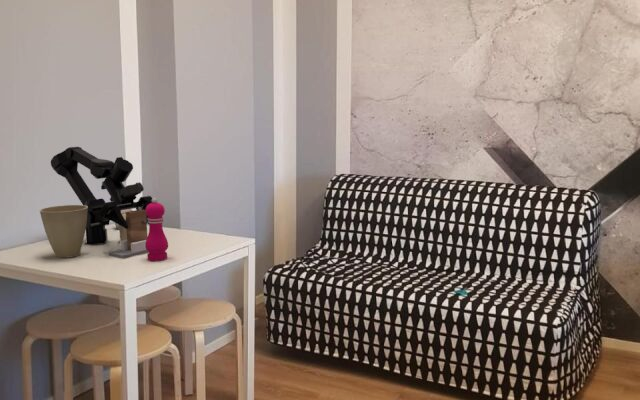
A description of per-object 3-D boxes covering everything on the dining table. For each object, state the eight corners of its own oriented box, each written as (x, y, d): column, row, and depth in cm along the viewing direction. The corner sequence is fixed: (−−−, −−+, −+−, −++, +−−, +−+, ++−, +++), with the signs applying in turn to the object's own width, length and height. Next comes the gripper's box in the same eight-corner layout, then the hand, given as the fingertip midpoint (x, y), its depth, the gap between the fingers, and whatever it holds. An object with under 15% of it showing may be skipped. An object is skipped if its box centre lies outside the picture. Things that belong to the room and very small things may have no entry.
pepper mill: (157, 262, 217) (154, 200, 214) (141, 259, 221) (137, 198, 218) (173, 257, 223) (170, 197, 220) (157, 255, 227) (154, 195, 224)
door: (127, 250, 230) (125, 212, 228) (143, 246, 236) (141, 209, 234) (134, 251, 228) (132, 213, 226) (149, 247, 233) (147, 210, 231)
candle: (139, 240, 251) (137, 213, 249) (129, 243, 246) (127, 215, 244) (127, 239, 253) (125, 212, 251) (117, 242, 248) (115, 214, 246)
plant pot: (93, 249, 237) (90, 203, 235) (87, 259, 223) (83, 210, 220) (48, 251, 235) (45, 205, 232) (38, 261, 220) (34, 212, 218)
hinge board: (108, 255, 228) (107, 243, 227) (151, 245, 242) (151, 234, 241) (123, 258, 223) (122, 246, 222) (166, 248, 237) (166, 237, 236)
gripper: (102, 178, 223) (125, 215, 219) (149, 172, 238) (171, 207, 233) (90, 200, 230) (112, 236, 225) (136, 193, 244) (157, 227, 239)
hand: (139, 225), depth 230 cm, fingers open, 9 cm apart
